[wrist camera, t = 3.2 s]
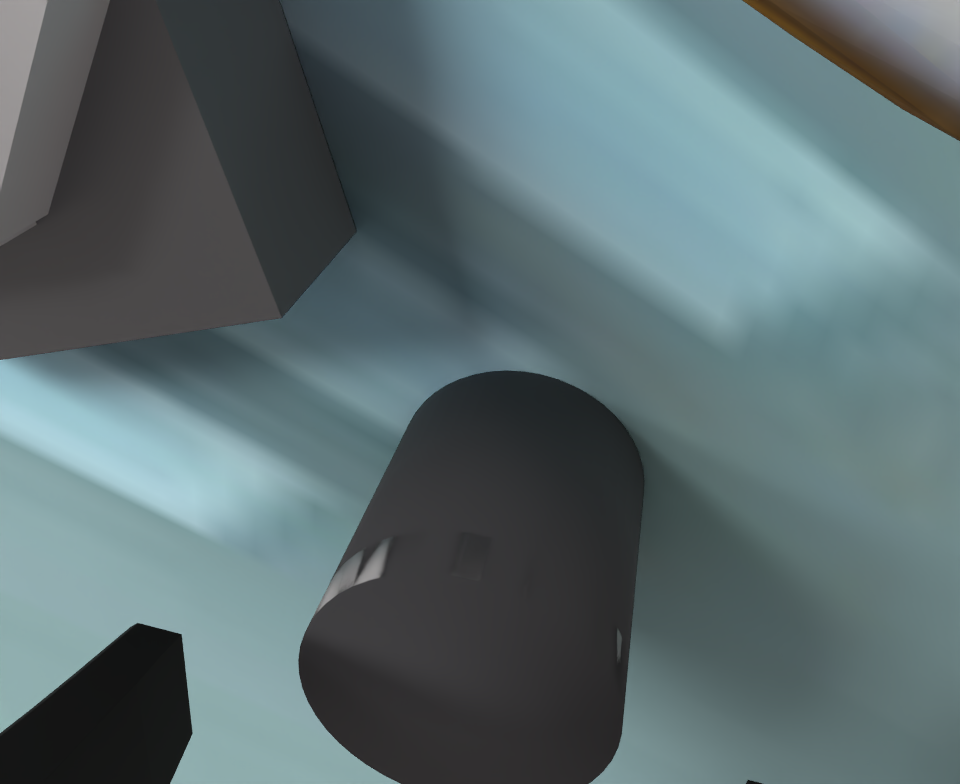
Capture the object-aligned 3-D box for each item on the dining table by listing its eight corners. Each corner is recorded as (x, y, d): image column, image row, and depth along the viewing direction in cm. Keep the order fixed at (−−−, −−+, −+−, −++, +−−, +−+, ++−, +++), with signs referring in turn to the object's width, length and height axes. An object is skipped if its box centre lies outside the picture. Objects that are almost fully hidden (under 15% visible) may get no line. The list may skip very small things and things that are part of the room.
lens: (438, 574, 18) (357, 800, 14) (371, 385, 16) (250, 586, 11) (661, 563, 16) (647, 812, 12) (621, 356, 14) (587, 571, 10)
